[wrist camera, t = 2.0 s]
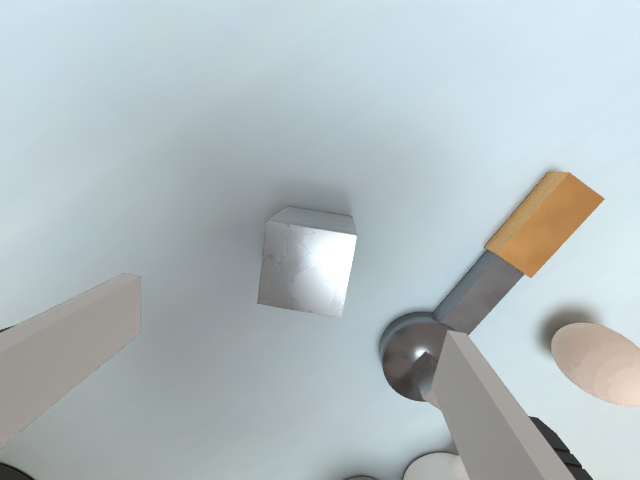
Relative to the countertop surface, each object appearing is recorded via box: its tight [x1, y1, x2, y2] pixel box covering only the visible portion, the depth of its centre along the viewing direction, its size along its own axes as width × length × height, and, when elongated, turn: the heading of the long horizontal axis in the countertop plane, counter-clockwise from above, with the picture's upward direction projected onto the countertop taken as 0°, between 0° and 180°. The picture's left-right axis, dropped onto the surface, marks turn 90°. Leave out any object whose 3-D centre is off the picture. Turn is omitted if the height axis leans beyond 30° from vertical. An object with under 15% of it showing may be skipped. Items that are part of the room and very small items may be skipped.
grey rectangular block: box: [257, 206, 357, 318], centre depth 24 cm, size 6×6×8 cm
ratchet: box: [379, 172, 604, 410], centre depth 25 cm, size 8×24×6 cm, turn 146°
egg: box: [551, 323, 640, 407], centre depth 25 cm, size 6×6×8 cm
